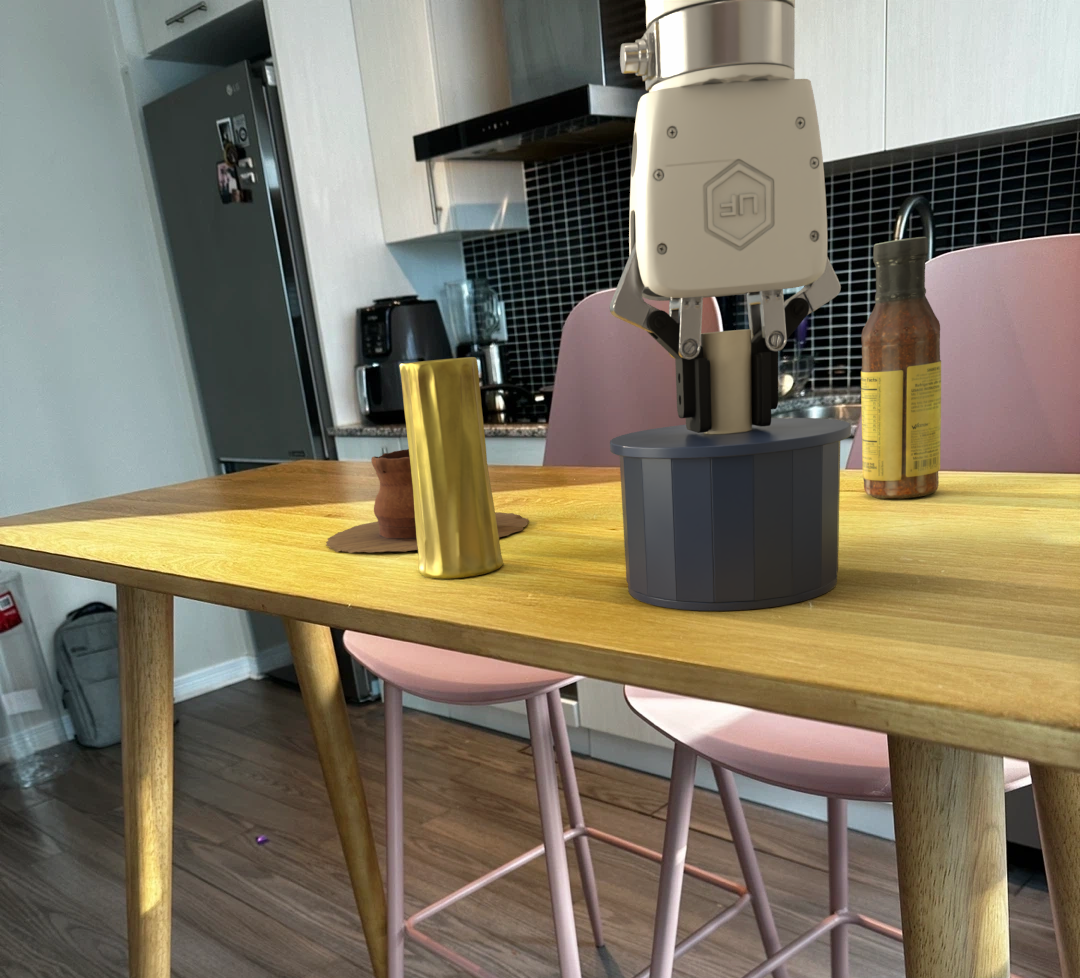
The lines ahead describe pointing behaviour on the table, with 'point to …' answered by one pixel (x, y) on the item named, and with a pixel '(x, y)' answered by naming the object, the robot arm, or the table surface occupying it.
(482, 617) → the table surface
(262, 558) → the table surface
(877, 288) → the sauce bottle
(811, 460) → the tin
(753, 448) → the tin lid
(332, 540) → the ceramic pot
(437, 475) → the vase
